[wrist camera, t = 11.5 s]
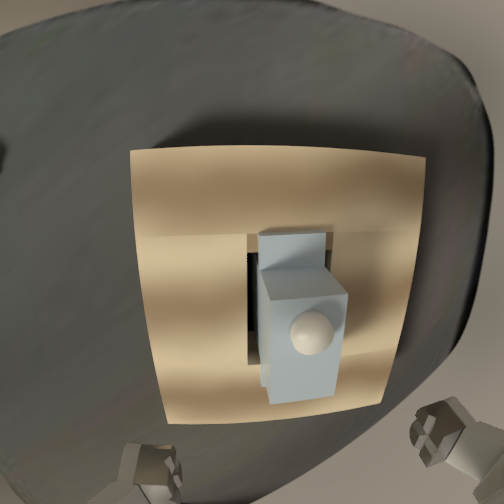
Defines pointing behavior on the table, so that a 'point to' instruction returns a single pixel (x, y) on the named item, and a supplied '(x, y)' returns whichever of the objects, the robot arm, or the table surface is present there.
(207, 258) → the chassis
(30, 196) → the table surface
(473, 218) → the table surface
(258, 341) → the block
